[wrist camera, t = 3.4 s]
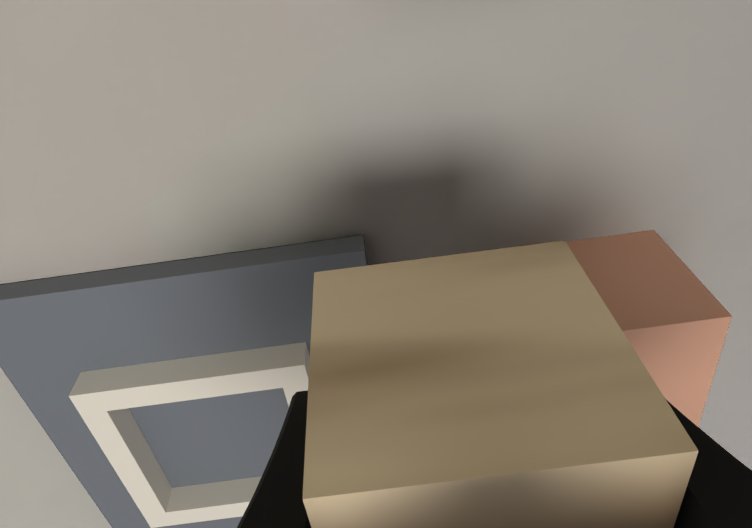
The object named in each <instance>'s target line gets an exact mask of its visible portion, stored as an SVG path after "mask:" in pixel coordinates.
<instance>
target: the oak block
mask: <svg viewBox="0 0 752 528" xmlns="http://www.w3.org/2000/svg"><path fill="white" fill-rule="evenodd" d="M698 452H699V451H698V449H697V448H696V446H695V444H694V443H693V441H692V440H691V438H690V437H689V435H688V433H687V432H686V430H685V429H684V427H683V426H682V424H681V422H680V421H679V419H678V418H677V416H676V415H675V413H674V411H673V410H672V408H671V407H670V405H669V404H668V402H667V400H666V399H665V397H664V396H663V394H662V393H661V391H660V389H659V388H658V386H657V385H656V383H655V382H654V380H653V378H652V377H651V375H650V374H649V372H648V371H647V369H646V367H645V366H644V364H643V363H642V361H641V360H640V358H639V356H638V355H637V353H636V352H635V350H634V349H633V347H632V345H631V344H630V342H629V341H628V339H627V338H626V336H625V335H624V333H623V331H622V330H621V328H620V327H619V325H618V324H617V322H616V320H615V319H614V317H613V316H612V314H611V313H610V311H609V309H608V308H607V306H606V305H605V303H604V302H603V300H602V298H601V297H600V295H599V294H598V292H597V291H596V289H595V287H594V286H593V284H592V283H591V281H590V280H589V278H588V276H587V275H586V273H585V272H584V270H583V269H582V267H581V265H580V264H579V262H578V261H577V259H576V258H575V256H574V254H573V253H572V251H571V250H570V248H569V247H568V245H567V243H566V242H565V241H557V242H549V243H541V244H533V245H525V246H518V247H510V248H502V249H494V250H486V251H478V252H470V253H462V254H455V255H447V256H439V257H431V258H423V259H415V260H407V261H399V262H392V263H384V264H376V265H368V266H360V267H352V268H344V269H336V270H329V271H321V272H314V285H313V305H312V324H311V343H310V363H309V382H308V402H307V421H306V440H305V460H304V479H303V498H302V499H303V503H304V506H305V509H306V512H307V515H308V518H309V522H310V525H311V528H673V527H674V524H675V521H676V518H677V515H678V512H679V509H680V506H681V503H682V500H683V497H684V494H685V491H686V488H687V485H688V482H689V479H690V476H691V473H692V470H693V467H694V464H695V461H696V458H697V455H698Z"/></svg>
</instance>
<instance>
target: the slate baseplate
mask: <svg viewBox="0 0 752 528" xmlns="http://www.w3.org/2000/svg"><path fill="white" fill-rule="evenodd" d="M360 266H368V265H367V258H366V252H365V246H364V240H363V235H360V236H352V237H345V238H338V239H330V240H323V241H316V242H308V243H301V244H294V245H287V246H279V247H272V248H265V249H257V250H250V251H243V252H236V253H228V254H221V255H214V256H206V257H199V258H192V259H184V260H177V261H170V262H163V263H155V264H148V265H141V266H133V267H126V268H119V269H111V270H104V271H97V272H90V273H82V274H75V275H68V276H60V277H53V278H46V279H39V280H31V281H24V282H17V283H9V284H2V285H0V367H1V368H2V370H3V371H4V373H5V374H6V376H7V377H8V378H9V380H10V381H11V383H12V384H13V386H14V387H15V389H16V390H17V391H18V393H19V394H20V396H21V397H22V399H23V400H24V401H25V403H26V404H27V406H28V407H29V409H30V410H31V412H32V413H33V414H34V416H35V417H36V419H37V420H38V422H39V423H40V424H41V426H42V427H43V429H44V430H45V432H46V433H47V435H48V436H49V437H50V439H51V440H52V442H53V443H54V445H55V446H56V448H57V449H58V450H59V452H60V453H61V455H62V456H63V458H64V459H65V460H66V462H67V463H68V465H69V466H70V468H71V469H72V471H73V472H74V473H75V475H76V476H77V478H78V479H79V481H80V482H81V484H82V485H83V486H84V488H85V489H86V491H87V492H88V494H89V495H90V496H91V498H92V499H93V501H94V502H95V504H96V505H97V507H98V508H99V509H100V511H101V512H102V514H103V515H104V517H105V518H106V519H107V521H108V522H109V524H110V525H111V527H112V528H237V526H238V524H239V522H240V520H241V518H242V517H243V515H244V513H245V511H246V509H247V507H248V505H249V503H250V501H251V499H252V497H253V495H254V492H255V490H256V488H257V486H258V484H259V481H260V479H261V477H262V475H263V472H264V470H265V468H266V466H267V463H268V461H269V459H270V457H271V454H272V452H273V449H274V447H275V444H276V442H277V439H278V437H279V434H280V431H281V429H282V426H283V423H284V420H285V418H286V415H287V412H288V409H289V405H290V402H291V399H292V396H293V395H294V394H295V393H296V392H299V391H307V390H308V382H309V363H310V343H311V324H312V305H313V285H314V272H321V271H329V270H336V269H344V268H352V267H360Z"/></svg>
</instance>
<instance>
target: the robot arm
mask: <svg viewBox="0 0 752 528" xmlns="http://www.w3.org/2000/svg"><path fill="white" fill-rule="evenodd" d="M307 402H308V390H307V391H299V392H296V393H295V394H294V395H293V396H292V399H291V402H290V405H289V409H288V412H287V415H286V418H285V420H284V423H283V426H282V429H281V431H280V434H279V437H278V439H277V442H276V444H275V447H274V449H273V452H272V454H271V457H270V459H269V461H268V463H267V466H266V468H265V470H264V472H263V475H262V477H261V479H260V481H259V484H258V486H257V488H256V490H255V492H254V495H253V497H252V499H251V501H250V503H249V505H248V507H247V509H246V511H245V513H244V515H243V517H242V518H241V520H240V522H239V524H238V526H237V528H311V525H310V522H309V518H308V515H307V512H306V509H305V506H304V503H303V499H302V498H303V479H304V460H305V440H306V421H307ZM667 402H668V404H669V405H670V407H671V408H672V410H673V411H674V413H675V415H676V416H677V418H678V419H679V421H680V422H681V424H682V426H683V427H684V429H685V430H686V432H687V433H688V435H689V437H690V438H691V440H692V441H693V443H694V444H695V446H696V448H697V449H698V451H699V452H698V455H697V458H696V461H695V464H694V467H693V470H692V473H691V476H690V479H689V482H688V485H687V488H686V491H685V494H684V497H683V500H682V503H681V506H680V509H679V512H678V515H677V518H676V521H675V524H674V527H673V528H752V471H751V470H750V469H749V468H748V467H746V466H745V465H744V464H742V463H741V462H740V461H739V460H737V459H736V458H735V457H734V456H732V455H731V454H730V453H729V452H727V451H726V450H725V449H724V448H722V447H721V446H720V445H719V444H718V443H716V442H715V441H714V440H713V439H712V438H710V437H709V436H708V435H707V434H706V433H705V432H703V431H702V430H701V429H700V428H699V427H697V426H696V425H695V424H694V423H693V422H692V421H690V420H689V419H688V418H687V417H686V416H685V415H683V414H682V413H681V412H680V411H679V410H678V409H677V408H675V407H674V406H673V405H672V404H671V403H670V402H669V401H668V400H667Z"/></svg>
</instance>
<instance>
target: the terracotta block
mask: <svg viewBox="0 0 752 528" xmlns="http://www.w3.org/2000/svg"><path fill="white" fill-rule="evenodd" d="M566 243H567V245H568V247H569V248H570V250H571V251H572V253H573V254H574V256H575V258H576V259H577V261H578V262H579V264H580V265H581V267H582V269H583V270H584V272H585V273H586V275H587V276H588V278H589V280H590V281H591V283H592V284H593V286H594V287H595V289H596V291H597V292H598V294H599V295H600V297H601V298H602V300H603V302H604V303H605V305H606V306H607V308H608V309H609V311H610V313H611V314H612V316H613V317H614V319H615V320H616V322H617V324H618V325H619V327H620V328H621V330H622V331H623V333H624V335H625V336H626V338H627V339H628V341H629V342H630V344H631V345H632V347H633V349H634V350H635V352H636V353H637V355H638V356H639V358H640V360H641V361H642V363H643V364H644V366H645V367H646V369H647V371H648V372H649V374H650V375H651V377H652V378H653V380H654V382H655V383H656V385H657V386H658V388H659V389H660V391H661V393H662V394H663V396H664V397H665V399H666V400H668V401H669V402H670V403H671V404H672V405H673V406H674V407H675V408H677V409H678V410H679V411H680V412H681V413H682V414H683V415H685V416H686V417H687V418H688V419H689V420H690V421H692V422H693V423H694V424H695V425H696V426H697V427H698V426H699V423H700V420H701V416H702V413H703V410H704V407H705V403H706V400H707V397H708V394H709V390H710V387H711V384H712V380H713V377H714V374H715V371H716V367H717V364H718V361H719V358H720V354H721V351H722V348H723V345H724V341H725V338H726V335H727V331H728V328H729V325H730V322H731V318H732V316H731V314H730V313H729V312H728V311H727V310H726V309H725V308H724V307H723V306H722V305H721V303H720V302H719V301H718V300H717V299H716V298H715V297H714V296H713V295H712V294H711V292H710V291H709V290H708V289H707V288H706V287H705V286H704V285H703V284H702V283H701V281H700V280H699V279H698V278H697V277H696V276H695V275H694V274H693V273H692V272H691V270H690V269H689V268H688V267H687V266H686V265H685V264H684V263H683V262H682V261H681V259H680V258H679V257H678V256H677V255H676V254H675V253H674V252H673V251H672V249H671V248H670V247H669V246H668V245H667V244H666V243H665V242H664V241H663V240H662V238H661V237H660V236H659V235H658V234H657V233H656V232H655V231H654V230H650V231H642V232H635V233H628V234H620V235H613V236H606V237H598V238H591V239H584V240H577V241H569V242H566Z"/></svg>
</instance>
